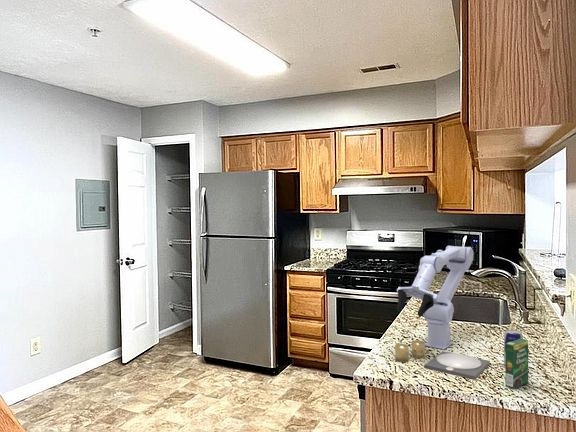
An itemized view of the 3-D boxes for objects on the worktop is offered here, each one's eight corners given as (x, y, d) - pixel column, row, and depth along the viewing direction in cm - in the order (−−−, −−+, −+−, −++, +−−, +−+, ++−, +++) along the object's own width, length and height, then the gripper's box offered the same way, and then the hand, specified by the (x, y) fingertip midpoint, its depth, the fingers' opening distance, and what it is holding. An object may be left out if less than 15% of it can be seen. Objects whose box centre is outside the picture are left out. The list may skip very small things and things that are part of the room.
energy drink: (512, 372, 143) (512, 334, 143) (500, 366, 148) (500, 330, 148) (526, 370, 144) (526, 333, 144) (513, 364, 150) (513, 328, 149)
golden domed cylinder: (398, 356, 158) (398, 342, 158) (410, 359, 155) (410, 345, 155) (392, 360, 154) (392, 346, 154) (405, 363, 151) (405, 348, 151)
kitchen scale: (442, 353, 160) (442, 349, 160) (489, 363, 150) (490, 359, 150) (424, 367, 147) (424, 363, 147) (474, 379, 137) (474, 374, 137)
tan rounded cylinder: (414, 353, 161) (414, 339, 161) (426, 355, 159) (426, 341, 158) (409, 356, 158) (409, 342, 158) (421, 359, 155) (421, 345, 155)
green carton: (513, 389, 129) (514, 345, 129) (504, 386, 132) (504, 342, 132) (529, 383, 134) (529, 340, 133) (519, 380, 136) (520, 337, 136)
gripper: (400, 272, 163) (386, 301, 156) (439, 278, 153) (426, 310, 146) (405, 284, 167) (391, 313, 160) (444, 291, 157) (430, 322, 150)
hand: (408, 312), depth 153 cm, fingers open, 7 cm apart
